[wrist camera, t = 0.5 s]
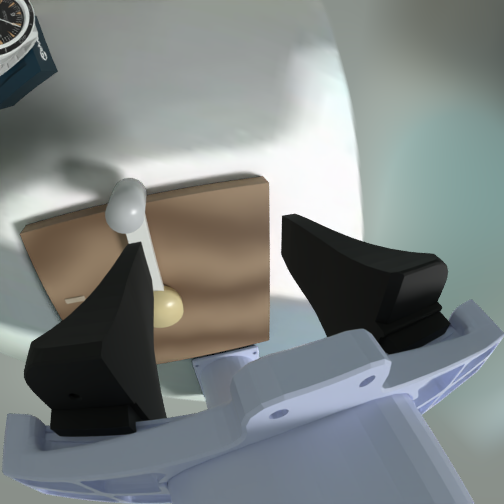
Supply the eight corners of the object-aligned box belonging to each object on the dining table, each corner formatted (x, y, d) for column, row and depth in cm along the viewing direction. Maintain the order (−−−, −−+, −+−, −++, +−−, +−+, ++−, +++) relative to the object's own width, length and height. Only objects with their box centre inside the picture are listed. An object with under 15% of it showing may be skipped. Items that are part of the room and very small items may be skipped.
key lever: (186, 315, 26) (190, 342, 23) (143, 323, 25) (144, 351, 22) (154, 172, 18) (153, 189, 15) (98, 184, 17) (88, 204, 15)
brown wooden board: (265, 330, 33) (269, 340, 31) (97, 362, 28) (97, 373, 27) (262, 176, 23) (269, 183, 21) (26, 225, 18) (19, 234, 17)
